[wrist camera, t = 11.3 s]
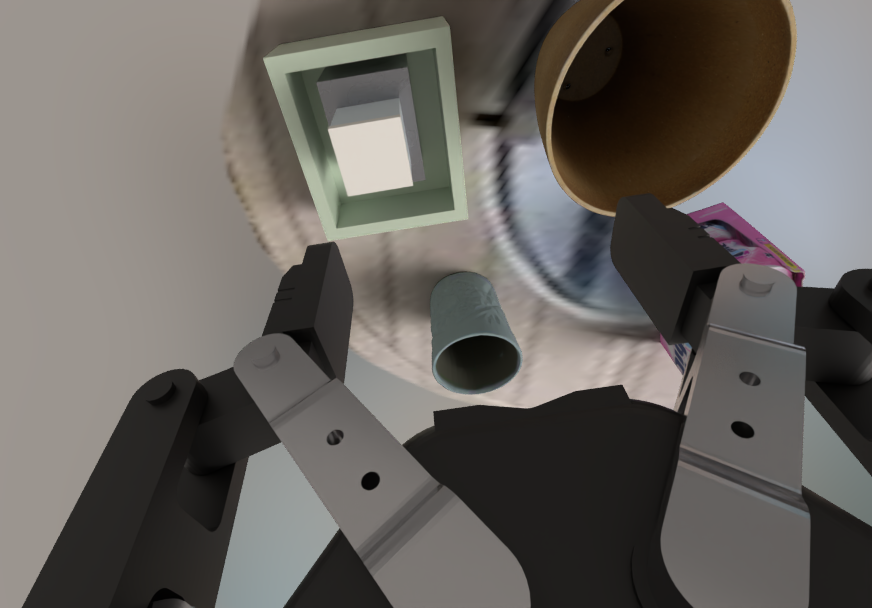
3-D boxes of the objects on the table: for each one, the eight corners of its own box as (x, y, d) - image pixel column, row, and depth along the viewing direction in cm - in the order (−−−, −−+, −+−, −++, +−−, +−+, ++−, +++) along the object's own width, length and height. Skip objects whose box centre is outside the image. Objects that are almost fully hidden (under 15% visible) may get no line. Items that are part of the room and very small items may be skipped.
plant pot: (471, 108, 40) (503, 177, 28) (557, -88, 32) (658, -110, 19) (596, 163, 45) (671, 243, 32) (701, 4, 36) (857, 33, 24)
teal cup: (431, 263, 51) (439, 331, 42) (510, 269, 53) (534, 336, 44) (421, 324, 58) (426, 394, 49) (492, 327, 59) (510, 397, 50)
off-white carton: (399, 96, 33) (400, 116, 29) (411, 160, 36) (413, 185, 32) (335, 108, 33) (327, 129, 29) (353, 170, 36) (348, 196, 32)
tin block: (406, 52, 36) (407, 67, 31) (422, 154, 42) (425, 180, 37) (326, 65, 36) (316, 82, 32) (353, 166, 42) (348, 192, 38)
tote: (442, 16, 35) (449, 26, 31) (461, 192, 46) (468, 219, 41) (279, 44, 36) (262, 58, 31) (334, 212, 46) (327, 241, 41)
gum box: (653, 214, 49) (721, 285, 39) (724, 189, 48) (814, 256, 38) (659, 343, 64) (710, 419, 54) (713, 327, 63) (776, 402, 52)
